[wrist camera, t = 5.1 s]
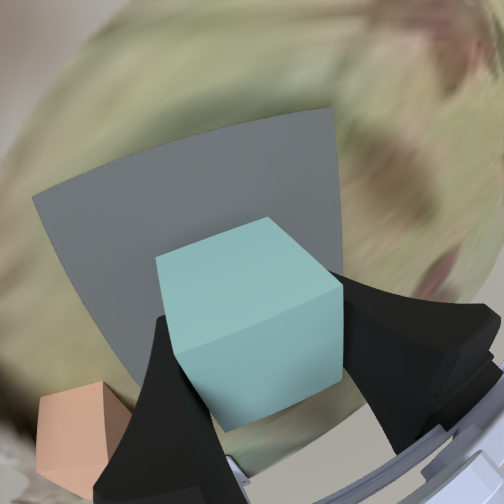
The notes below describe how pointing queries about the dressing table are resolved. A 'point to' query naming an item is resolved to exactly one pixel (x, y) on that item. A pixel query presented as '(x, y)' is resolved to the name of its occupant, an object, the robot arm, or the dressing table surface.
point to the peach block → (79, 435)
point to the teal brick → (252, 321)
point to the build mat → (189, 214)
